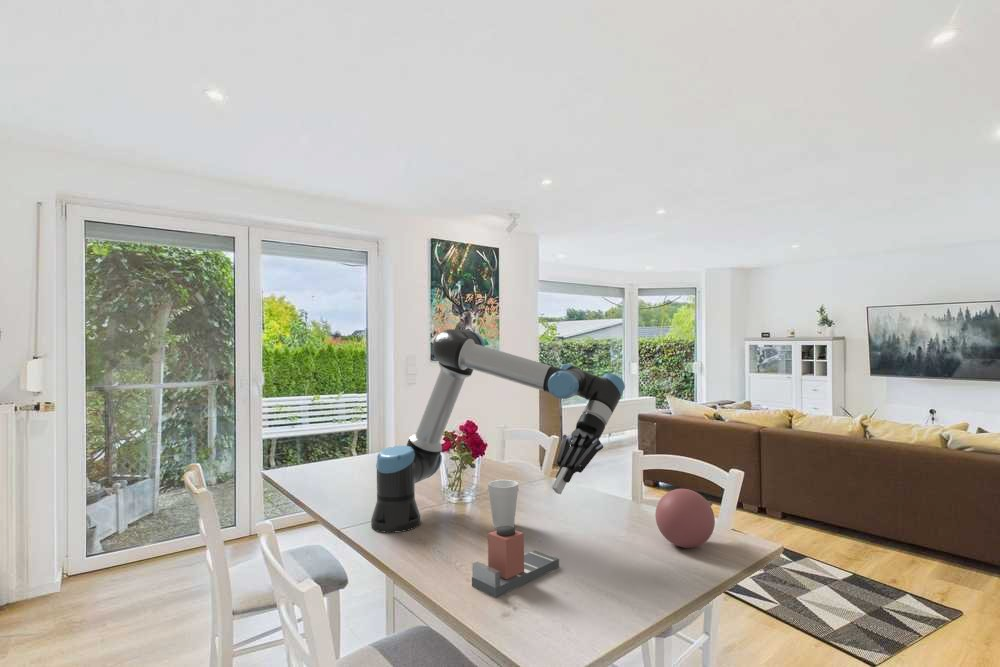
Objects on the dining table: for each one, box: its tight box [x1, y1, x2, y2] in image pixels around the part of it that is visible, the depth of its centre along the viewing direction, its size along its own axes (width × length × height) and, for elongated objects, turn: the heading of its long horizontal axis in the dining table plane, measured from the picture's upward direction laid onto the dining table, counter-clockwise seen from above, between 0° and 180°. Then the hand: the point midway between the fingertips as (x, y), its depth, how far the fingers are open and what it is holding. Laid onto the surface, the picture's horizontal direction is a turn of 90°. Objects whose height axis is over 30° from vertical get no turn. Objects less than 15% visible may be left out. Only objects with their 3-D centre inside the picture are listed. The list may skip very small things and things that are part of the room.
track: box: [471, 550, 560, 598], centre depth 126 cm, size 22×8×5 cm, turn 135°
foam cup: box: [487, 479, 519, 529], centre depth 161 cm, size 10×9×13 cm
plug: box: [487, 526, 525, 580], centre depth 123 cm, size 6×6×10 cm
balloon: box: [655, 488, 716, 549], centre depth 145 cm, size 15×20×15 cm
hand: (556, 490), depth 137 cm, fingers closed
